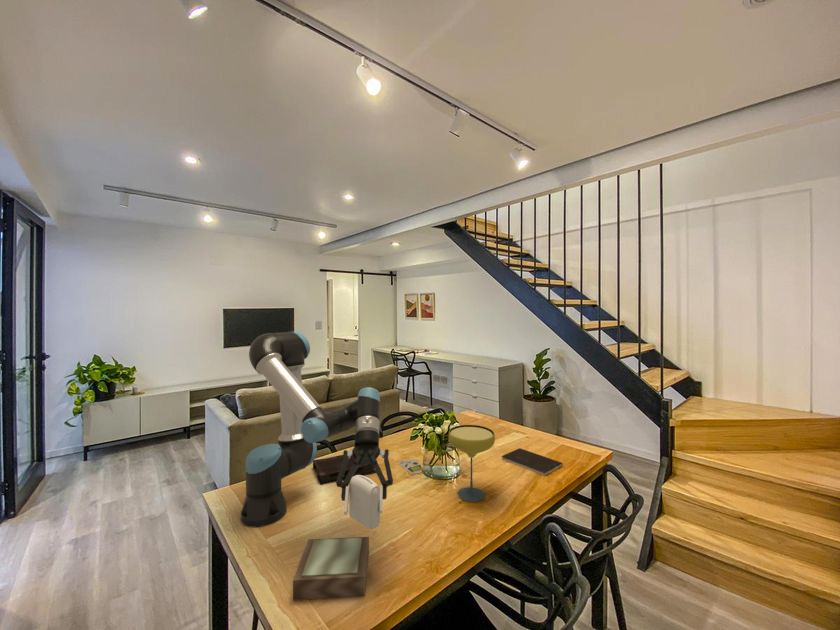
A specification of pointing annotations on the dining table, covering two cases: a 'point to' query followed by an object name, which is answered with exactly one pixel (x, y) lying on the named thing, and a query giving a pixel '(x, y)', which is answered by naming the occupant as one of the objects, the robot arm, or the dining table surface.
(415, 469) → the handheld gaming device
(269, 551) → the dining table surface
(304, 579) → the block
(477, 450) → the cocktail glass
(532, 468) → the hardcover book
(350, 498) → the photo printer
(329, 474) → the diary
